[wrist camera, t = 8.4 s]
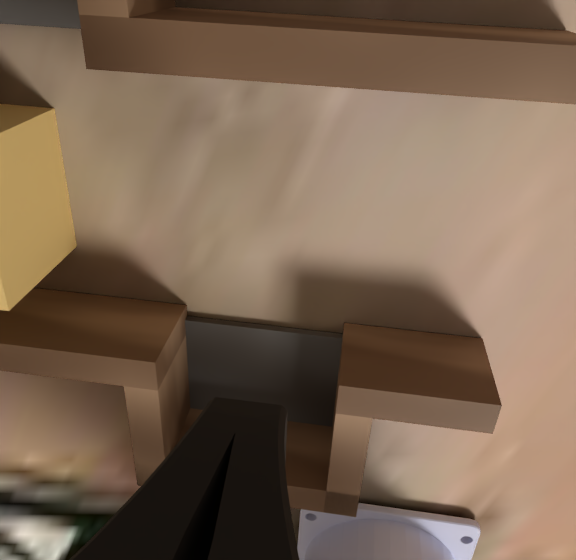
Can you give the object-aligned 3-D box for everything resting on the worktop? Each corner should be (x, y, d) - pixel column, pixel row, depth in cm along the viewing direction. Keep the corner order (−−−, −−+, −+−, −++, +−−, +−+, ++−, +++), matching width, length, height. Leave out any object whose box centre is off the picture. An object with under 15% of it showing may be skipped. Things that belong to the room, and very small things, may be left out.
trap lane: (449, 457, 23) (460, 532, 20) (-56, 390, 25) (-114, 448, 22) (635, -217, 12) (721, -275, 9) (-280, -234, 14) (-454, -286, 11)
